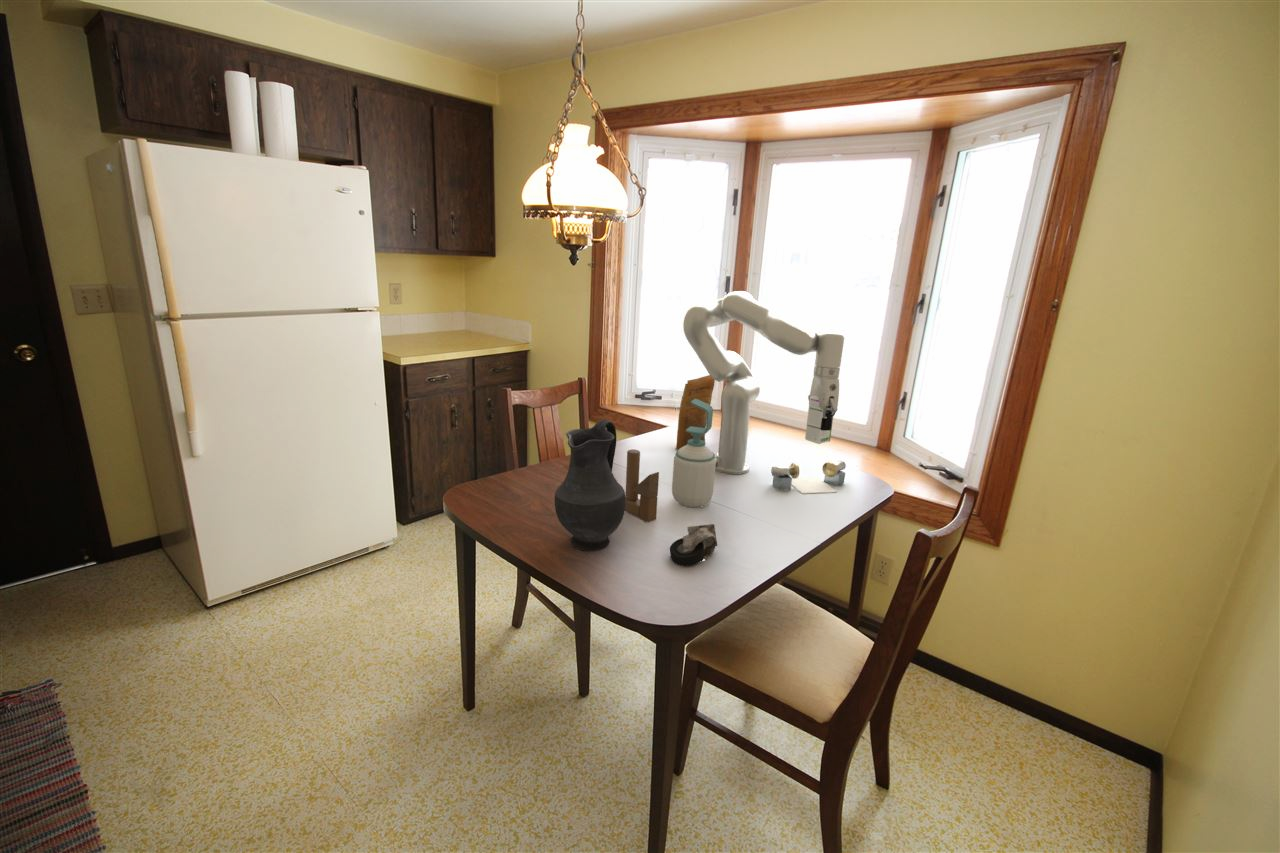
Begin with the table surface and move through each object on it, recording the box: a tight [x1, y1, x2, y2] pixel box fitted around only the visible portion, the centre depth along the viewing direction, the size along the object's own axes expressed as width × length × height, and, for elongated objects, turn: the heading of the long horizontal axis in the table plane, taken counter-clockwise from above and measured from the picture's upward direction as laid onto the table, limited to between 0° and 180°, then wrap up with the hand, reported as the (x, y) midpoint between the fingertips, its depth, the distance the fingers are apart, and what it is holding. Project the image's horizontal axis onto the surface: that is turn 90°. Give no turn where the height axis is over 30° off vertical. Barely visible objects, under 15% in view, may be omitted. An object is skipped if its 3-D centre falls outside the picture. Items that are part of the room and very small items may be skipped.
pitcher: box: [554, 419, 626, 552], centre depth 137 cm, size 17×21×30 cm
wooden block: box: [625, 449, 660, 523], centre depth 154 cm, size 4×11×18 cm, turn 42°
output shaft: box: [821, 460, 847, 487], centre depth 185 cm, size 8×5×8 cm, turn 131°
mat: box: [791, 477, 837, 495], centre depth 183 cm, size 12×12×1 cm
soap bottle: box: [671, 399, 716, 509], centre depth 162 cm, size 12×12×31 cm
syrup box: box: [804, 396, 834, 445], centre depth 176 cm, size 6×6×14 cm
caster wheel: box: [669, 523, 718, 567], centre depth 134 cm, size 7×11×10 cm
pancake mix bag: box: [675, 374, 716, 450], centre depth 213 cm, size 7×19×28 cm, turn 131°
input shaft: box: [771, 462, 800, 491], centre depth 180 cm, size 8×5×8 cm, turn 101°
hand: (818, 426), depth 177 cm, fingers closed on syrup box, 7 cm apart
